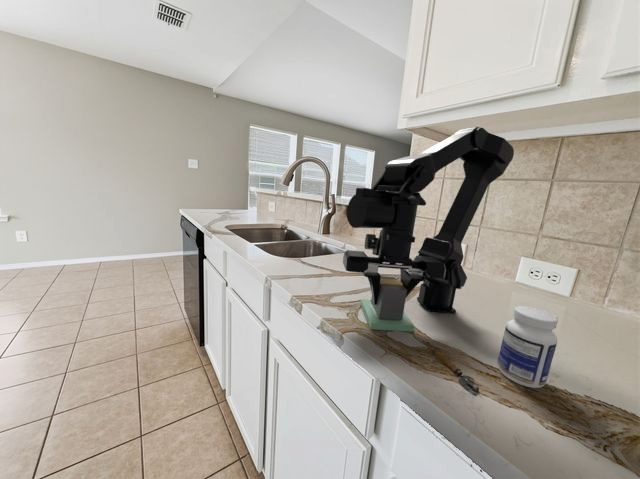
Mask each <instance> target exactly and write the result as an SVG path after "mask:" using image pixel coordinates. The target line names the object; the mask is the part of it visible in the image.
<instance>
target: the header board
mask: <svg viewBox="0 0 640 479" xmlns="http://www.w3.org/2000/svg"><path fill="white" fill-rule="evenodd" d="M360 308H361V309H362V312H363V313H364V314H363V315H364V316H365V319H366V321H367V323H368V326H369V329H370V330H379V331H380V330H381V331H391V332H392V331H394V332H410V333H411V332H412V333H414V331H415V325H414V323H413V322H412V320H411V319H410V318H409V317H408V316H407V314H406V312H405V311H404V312H403V318H402V320H397V319H382V318H379V317H378V315H377V313H376V311H375V309H374V307H373V305H372V303H371V300H370V299H360Z"/></svg>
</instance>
